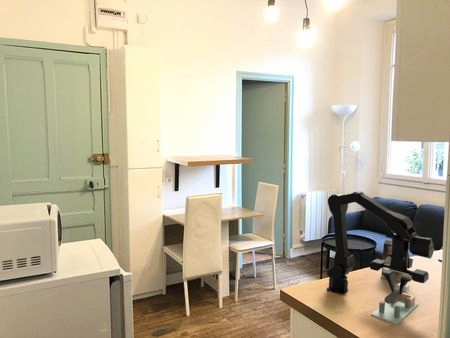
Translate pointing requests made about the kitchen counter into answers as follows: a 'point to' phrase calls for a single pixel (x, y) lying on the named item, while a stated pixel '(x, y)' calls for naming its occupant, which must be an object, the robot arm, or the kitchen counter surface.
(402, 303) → the clip board
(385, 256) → the coffee box
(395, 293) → the rod
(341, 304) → the kitchen counter surface
